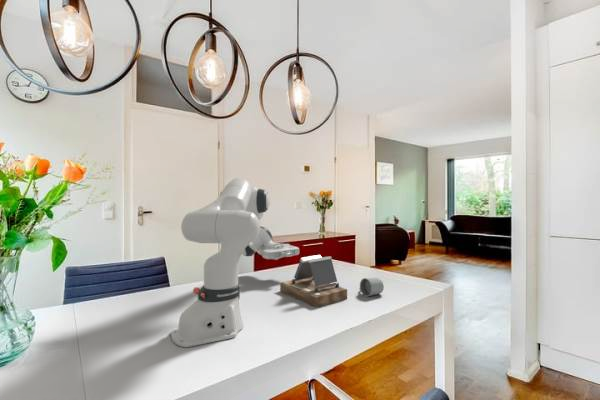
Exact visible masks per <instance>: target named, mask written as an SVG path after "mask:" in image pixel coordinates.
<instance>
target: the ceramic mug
mask: <svg viewBox="0 0 600 400" xmlns="http://www.w3.org/2000/svg"><path fill="white" fill-rule="evenodd" d="M383 291H384V283H383V281H382V279H381V278H379V277H363V278H362V279H361V280H360V282H359V292H360V293H361V294H362V295H363V296H364V297H371V296H375V295H379V294H382V293H383Z"/></svg>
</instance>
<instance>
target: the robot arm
mask: <svg viewBox="0 0 600 400" xmlns="http://www.w3.org/2000/svg"><path fill="white" fill-rule="evenodd" d="M270 204H271V198H270V196H269V192H268V191H267V190H266V189H263V188H257V187H256V186H253V185H251V184H250V182H249V181H248V180H246V179H245V178H242V177H237V178H233V179H232V180H231V181H230V182H228V183H227V184H226V185H225V186H224V188H223V189H222V191H221V192H220V193H219V196H218V197H217V198H216V199H215V200H213V201H212V202H211V203H209V204H208V205H205V206H204V207H202V208H199V209H197V210H193V211H191V212H188V213H186V214H185V216H184V217H183V219H182V220H181V227H180V229H181V234H182V236H183V237H184V238H185V240H187V241H188V242H189V241H190V242H193V243H198V244H220V245H221V246H220V251H218V252H216V253H215V254H212V255H210V256H209V257H208V258H207V259H206V260H205V262H204V263H203V286H201V288H199V287H198V286H195V287H193V289H192V292H193V293H194V294H195V295H197V299H196V300H195V301H193V302H192V304H190V305H189V306H188V307H187V308H186V309H185V310H184V311H183V312H182V313H181V314H180V315H179V320H178V326H177V327H174V328H172V330H171V331H170V338H171V340H172V342H173V343H174V344H175V345H177V346H179V347H182V348H190V347H194V346H200V345H204V344H209V343H215V342H219V341H223V340H228V339H233V338H236V337H237V336H238V333H239V332H240V331H241V330H242V329H243V328H244V322H243V318H242V315H241V307H240V296H241V290H240V288H241V287H240V283H239V268H240V260H241V257H242V255H243V256H244V257H252V256H254V255H255V253H256V252H257V253H258V255H260V256H262V258H263V259H266V260H275V261H277V260H279V259H281V258H285V257H286V258H288V257H289V258H290V257H293V256H298V255H299V254H300V248H299V247H298V246H294V245H291V244H290V243H279V242H274V241H273V239H274V238H273V235H272V233H271V232H270V230H269V229H268V228H267V227H265V226H261V224H260V220H261V219H262V218H263V217H264V213H266V212H267V211H268V209H269V207H270Z"/></svg>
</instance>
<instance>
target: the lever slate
mask: <svg viewBox="0 0 600 400" xmlns="http://www.w3.org/2000/svg"><path fill="white" fill-rule="evenodd" d="M321 257H322V256H321ZM309 263H310V266H311V270H312V275H313V279H314V283H315V287H316V286H321V285H325V284H329V283H330V284H333V283H337V282H338V279H337V276H336V275H337V274H336V271H335V268H334V264H333V260H332V256H323V257H322V258H316V259H311V260H309Z"/></svg>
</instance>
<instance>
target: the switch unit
mask: <svg viewBox="0 0 600 400" xmlns="http://www.w3.org/2000/svg"><path fill="white" fill-rule="evenodd" d="M279 285H280V292H281V293H283V294H285V295H288V296H290V297H293V298H294V299H297V300H299V301H302V302H304V303H306V304H308V305H310V306H312V307H315V308H319V307H323V306H326V305H329V304H333V303H337V302H340V301H344V300H348V289H347V288H344V287H342V286H340V284H339V281H337V282H333V283H329V284H325V285H321V286H316V287H315V283H314V279H313V277H308V278H304V279H299V280H296V279H295V278H293V279H291V280H287V281H282V282H279Z"/></svg>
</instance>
